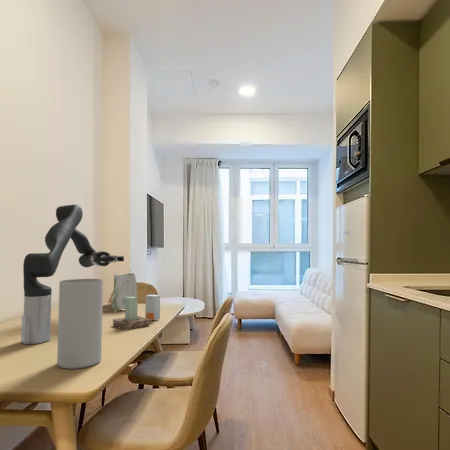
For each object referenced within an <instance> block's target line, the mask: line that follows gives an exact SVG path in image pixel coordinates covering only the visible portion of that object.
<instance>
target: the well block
mask: <svg viewBox="0 0 450 450" xmlns="http://www.w3.org/2000/svg"><path fill="white" fill-rule="evenodd" d="M150 324H151V320H149V319H146V318H145V317H142V316H140V315H139V316H138V315H137V320H134V321H125V317H121V318H120V317H119V318H114V319H112V326H113V325H114V326H113V327H115V326H117V327H116V328H118V327H120V328H119V329H121V328H123V329H128V330H131V329H130V328H134V329H136V328H135V327H140V328H142V327H141V326H146V327H148V326H147V325H150ZM123 329H122V330H123Z"/></svg>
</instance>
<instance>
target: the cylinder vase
mask: <svg viewBox="0 0 450 450" xmlns="http://www.w3.org/2000/svg"><path fill="white" fill-rule="evenodd" d="M58 284H59V285H58V286H59V290H58V317H57V319H58V320H57V321H58V323H57V324H58V325H57V328H58V329H57V352H56V355H57V357H56V363H57V366H58V367H59V368H62V369H65V370H66V369H67V370H76V369H84V368H89V367H92V366H95V365H97V364H99V363H100V361H101V360H102V352H103V350H102V348H103V346H102V345H103V344H102V342H103V341H102V339H103V301H104V300H103V297H104V295H103V294H104V293H103V292H104V279H101V278H74V279H63V280H59V283H58Z"/></svg>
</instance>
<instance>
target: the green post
mask: <svg viewBox="0 0 450 450" xmlns="http://www.w3.org/2000/svg"><path fill="white" fill-rule="evenodd" d="M138 302H139V301H138V296H137V297H134V296H133V297H125V310H124V318H125V321H134V320H137V316H138Z"/></svg>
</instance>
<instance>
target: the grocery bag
mask: <svg viewBox="0 0 450 450" xmlns="http://www.w3.org/2000/svg"><path fill="white" fill-rule="evenodd" d="M133 296H134V297H138V284H137V279H136V275H135V273H134V272H133V269H132V268H129V273H125V274H121V275H120V274H119V275H118V274H117V269H115V270H114V274H113V291H112V296H111V308H112V307H113V308H114V309H113V308H112V309H113V311H114V310H121V309H125V297H133Z"/></svg>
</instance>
